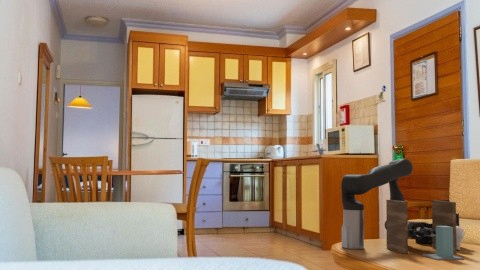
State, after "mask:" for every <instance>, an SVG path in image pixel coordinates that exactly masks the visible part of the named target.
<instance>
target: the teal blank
mask: <svg viewBox="0 0 480 270" xmlns="http://www.w3.org/2000/svg"><path fill="white" fill-rule="evenodd" d="M435 254H436V255H437V256H441V257H453V255H454V253H453V227H449V226H436V249H435Z"/></svg>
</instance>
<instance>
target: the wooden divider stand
mask: <svg viewBox="0 0 480 270" xmlns="http://www.w3.org/2000/svg"><path fill="white" fill-rule="evenodd" d="M385 200H386V201H385V202H386V203H385V204H386V213H385V214H386V220H387V230H386V249H387V250H390V251H392V252H393V251H394V252H397V253H400V254H403V255H409V251H408V250H409V247H408V246H409V243H408V242H409V241H408V239H409V237H408V221H409V220H408V217H409V216H408V213H409V212H408V201H405V202H404V201H395V200H390V199H385ZM431 208H432V209H431V213H432V214H431V215H432V216H431V217H432V218H431V219H432V221H431V224H432V229H436V226H449V227H453V254H457V250H456V213H457V202H455V201H447V200H445V201H443V200H437V199H435V200H431ZM431 245H432V249H435V250H436V236H433V237H432V244H431Z"/></svg>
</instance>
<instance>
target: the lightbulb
mask: <svg viewBox="0 0 480 270" xmlns="http://www.w3.org/2000/svg"><path fill="white" fill-rule="evenodd" d="M465 236H466V235H465V230H464V228H463V227H462V226H460V225H459V226H456V250H458V251H461V243H462V241H463V239H464V237H465Z"/></svg>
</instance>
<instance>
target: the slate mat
mask: <svg viewBox="0 0 480 270" xmlns="http://www.w3.org/2000/svg"><path fill="white" fill-rule="evenodd" d="M421 256H422V257H424V258H429V259H431V260H435V261H460V260H461V261H462V260H463V259H464V260H465V258H464V257H461V256H457V255H455V254H453V257H441V256H437V255H436V253H422V254H421Z"/></svg>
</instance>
